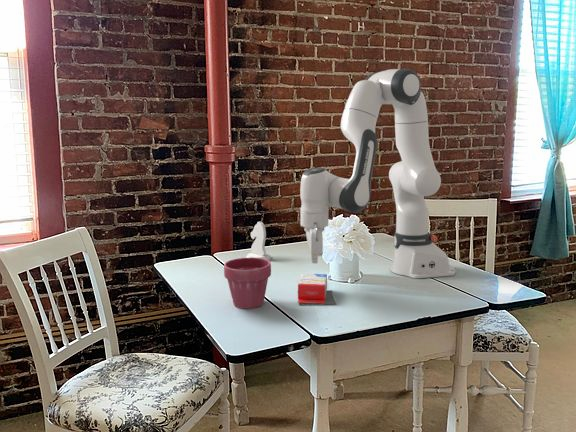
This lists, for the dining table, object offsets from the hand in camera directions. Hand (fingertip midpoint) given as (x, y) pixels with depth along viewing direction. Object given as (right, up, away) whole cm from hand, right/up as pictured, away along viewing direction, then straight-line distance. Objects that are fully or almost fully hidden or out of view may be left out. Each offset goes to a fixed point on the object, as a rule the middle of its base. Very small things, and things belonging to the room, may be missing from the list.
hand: (314, 262), depth 183 cm
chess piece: (-20, -2, +40) cm, 44 cm away
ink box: (0, -6, +3) cm, 7 cm away
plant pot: (-21, -12, -9) cm, 25 cm away
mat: (0, -11, -5) cm, 12 cm away
